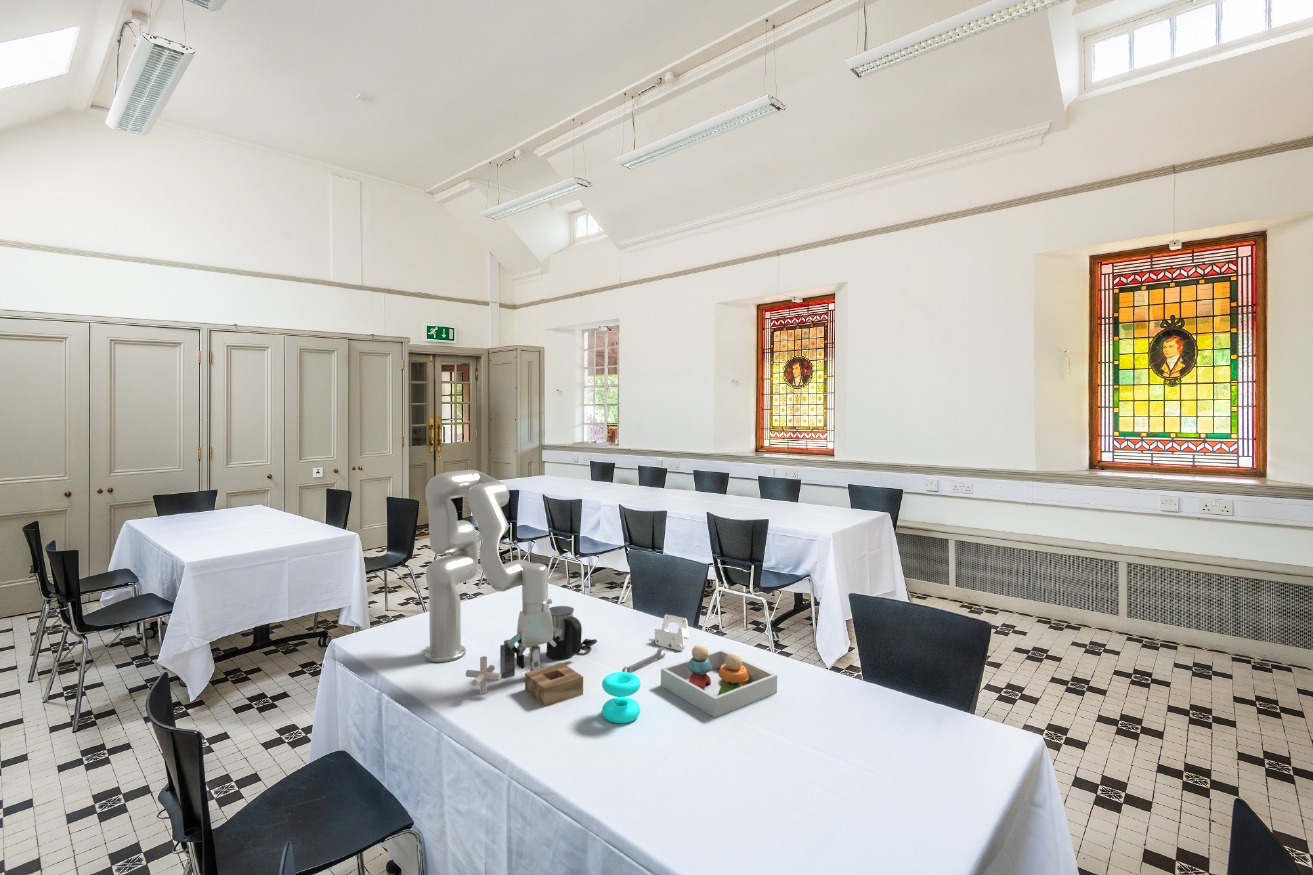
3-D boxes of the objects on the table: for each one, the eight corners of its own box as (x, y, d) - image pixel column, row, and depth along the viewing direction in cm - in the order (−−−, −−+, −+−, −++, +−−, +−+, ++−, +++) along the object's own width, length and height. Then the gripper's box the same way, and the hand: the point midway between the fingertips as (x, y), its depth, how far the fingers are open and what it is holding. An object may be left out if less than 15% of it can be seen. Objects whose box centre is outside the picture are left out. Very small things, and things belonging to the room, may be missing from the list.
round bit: (527, 676, 180) (527, 642, 180) (537, 673, 182) (537, 639, 182) (532, 680, 178) (532, 645, 177) (542, 677, 180) (542, 642, 179)
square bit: (500, 674, 182) (500, 640, 181) (510, 672, 183) (510, 638, 183) (504, 678, 179) (504, 643, 178) (514, 675, 181) (514, 641, 180)
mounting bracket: (689, 652, 204) (695, 620, 208) (681, 651, 199) (688, 617, 203) (659, 645, 211) (665, 614, 214) (650, 643, 206) (657, 611, 209)
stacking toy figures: (756, 680, 180) (756, 638, 180) (743, 706, 164) (744, 661, 163) (698, 670, 186) (698, 630, 186) (680, 694, 170) (681, 651, 170)
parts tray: (660, 685, 176) (661, 668, 175) (720, 665, 190) (721, 649, 190) (715, 717, 157) (715, 698, 157) (776, 692, 172) (777, 675, 172)
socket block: (524, 690, 172) (524, 672, 171) (562, 679, 179) (562, 662, 179) (544, 706, 162) (544, 688, 162) (583, 694, 169) (583, 676, 169)
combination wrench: (624, 667, 180) (667, 646, 195) (620, 666, 181) (664, 645, 196) (624, 679, 181) (667, 658, 196) (620, 678, 182) (664, 656, 197)
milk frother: (539, 657, 195) (539, 612, 194) (565, 640, 209) (565, 598, 208) (578, 665, 189) (578, 618, 188) (601, 647, 204) (602, 603, 203)
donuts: (646, 682, 155) (609, 689, 151) (645, 720, 155) (609, 728, 151) (632, 667, 164) (597, 673, 160) (632, 703, 165) (596, 710, 161)
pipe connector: (491, 702, 164) (491, 666, 164) (458, 698, 166) (458, 663, 166) (507, 686, 174) (507, 652, 173) (476, 683, 176) (475, 649, 175)
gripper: (555, 597, 187) (556, 652, 188) (502, 608, 177) (503, 666, 177) (567, 603, 181) (567, 659, 182) (513, 615, 171) (514, 675, 171)
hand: (536, 663), depth 180 cm, fingers open, 9 cm apart
